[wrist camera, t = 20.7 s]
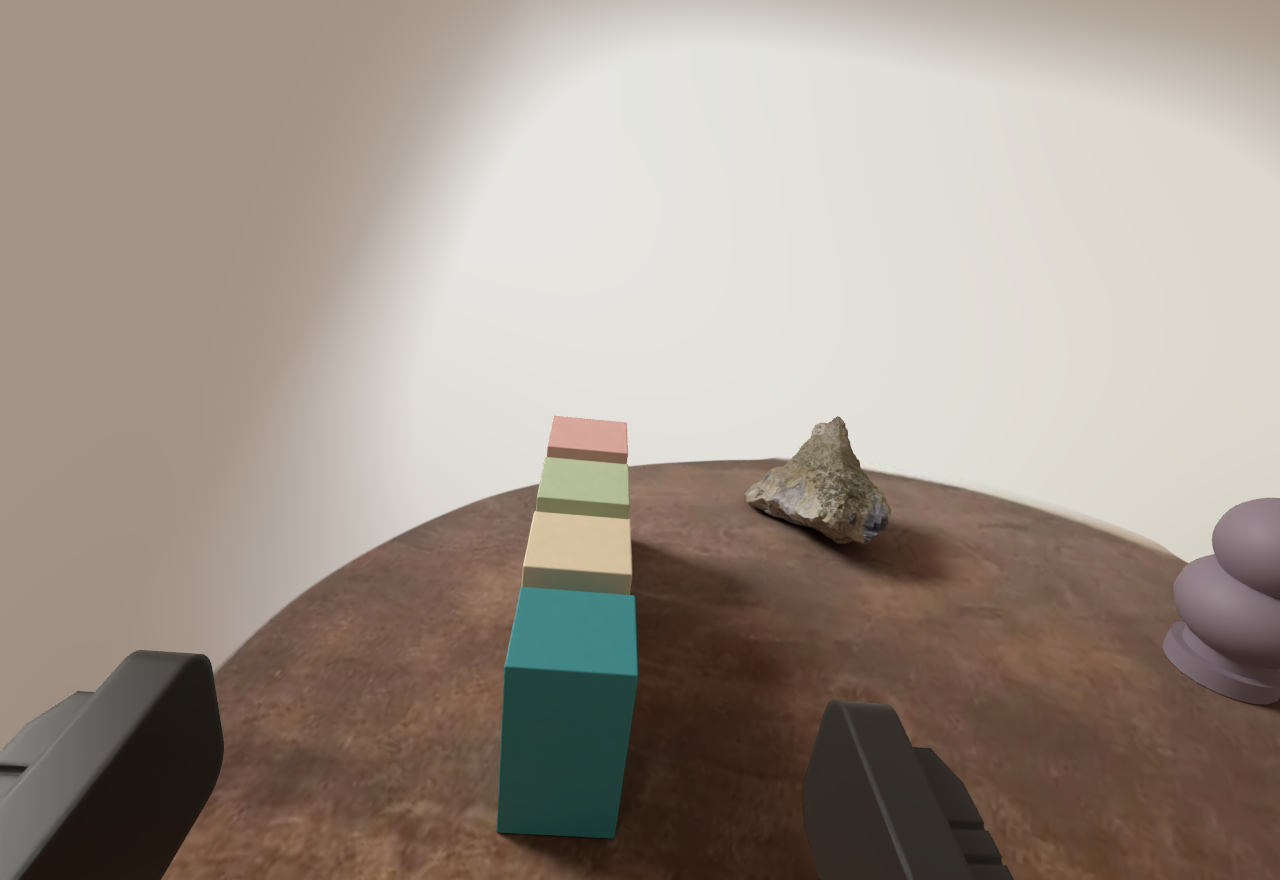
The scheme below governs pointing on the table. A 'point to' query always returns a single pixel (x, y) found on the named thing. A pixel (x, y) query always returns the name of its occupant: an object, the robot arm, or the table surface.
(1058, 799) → the table surface
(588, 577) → the line block
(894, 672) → the table surface
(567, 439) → the line block
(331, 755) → the table surface
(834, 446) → the rock
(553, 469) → the line block
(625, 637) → the teal block
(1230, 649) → the cat figurine
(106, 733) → the robot arm
